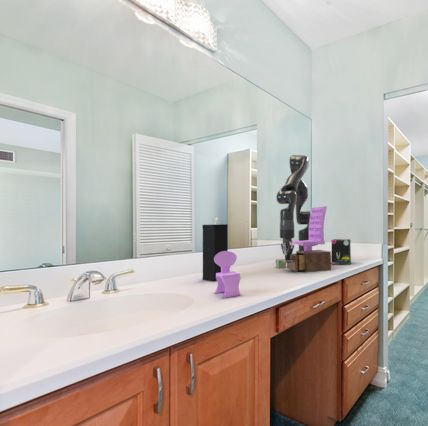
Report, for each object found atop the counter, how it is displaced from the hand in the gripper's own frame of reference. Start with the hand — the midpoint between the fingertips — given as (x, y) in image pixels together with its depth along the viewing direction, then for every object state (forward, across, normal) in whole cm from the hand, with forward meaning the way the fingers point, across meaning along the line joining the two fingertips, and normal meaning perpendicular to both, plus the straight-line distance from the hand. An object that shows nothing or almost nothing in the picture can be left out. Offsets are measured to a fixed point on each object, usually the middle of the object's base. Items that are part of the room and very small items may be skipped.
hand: (287, 262), depth 143 cm
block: (+5, +15, -2) cm, 16 cm away
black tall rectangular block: (+5, -2, +36) cm, 36 cm away
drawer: (+4, 0, -7) cm, 8 cm away
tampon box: (+5, +11, -40) cm, 42 cm away
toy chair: (+5, -32, +36) cm, 49 cm away
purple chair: (+5, +18, -22) cm, 29 cm away
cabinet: (+5, 0, -15) cm, 16 cm away
